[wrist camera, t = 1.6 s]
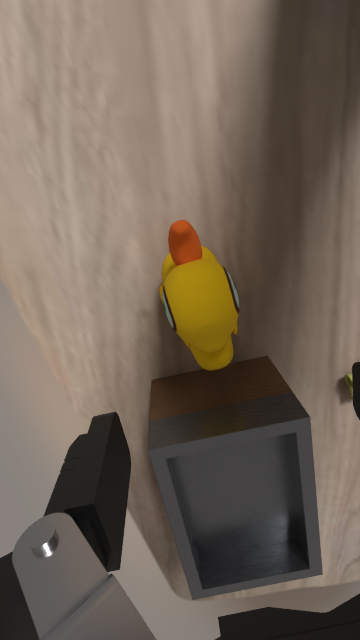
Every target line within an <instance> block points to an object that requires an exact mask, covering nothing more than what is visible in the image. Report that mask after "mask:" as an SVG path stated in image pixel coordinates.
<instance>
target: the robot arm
mask: <svg viewBox="0 0 360 640" xmlns="http://www.w3.org/2000/svg"><path fill="white" fill-rule="evenodd" d="M352 387H353V406H354V410H355V412H356V414H357V416H358V418H359V420H360V362H356V363H354V364H353V367H352ZM64 461H65V463H63V466H62V468H61V471H60V474H59V477H58V479H57V482H56V484H55V487H54V490H53V492H52V495H51V498H50V500H49V503H48V506H47V508H46V512H45V514H44V516H43V518H40V519H39V520H37V521H36V522H34V523H33V524H32V525H31V526H30V527H28V528H27V530H25V532H24V533H23V534H22V535H21V537H20V538H19V540H18V541H17V543H16V545H15V548H14V550H13V552H11V553H9V554H7V555H5V556H3V557H1V558H0V640H156V638H155V637H154V635H153V634H152V632H151V631H150V629H149V628H148V626H147V624H146V623H145V622H144V620H143V618H142V617H141V615H140V614H139V612H138V611H137V609H136V608H135V606H134V605H133V603H132V602H131V600H130V599H129V597H128V596H127V594H126V593H125V591H124V590H123V588H122V587H121V585H120V584H119V582H118V581H117V579H115V577H114V576H113V575H112V574H110V575H109V574H108V573H107V572H110V571H115V570H119V569H120V563H121V554H122V545H123V536H124V526H125V517H126V508H127V499H128V490H129V481H130V471H131V457H130V451H129V447H128V444H127V441H126V438H125V435H124V431H123V428H122V425H121V422H120V419H119V416H118V414H117V413H116V412H112V413H108V414H103V415H98V416H94V417H93V418H92V421H91V424H90V428H89V431H88V433H87V434H82V435H79V436H78V438H77V439H76V440H75V441H74V442H73V444H72V445H71V446H70V447H69V450H68V452H67V455H66V458H65V460H64ZM218 620H219V627H220V634H221V636H220V637H219V638H217V639H215V640H360V594H358V595H356V596H355V597H353V598H351V599H350V600H348V601H347V602H345V603H343V604H341V605H340V606H338V607H336V608H335V609H333V610H331V611H329V612H326V613H319V612H309V611H300V610H291V609H281V608H272V607H266V608H261V609H256V610H251V611H246V612H241V613H236V614H231V615H226V616H221V617H218Z"/></svg>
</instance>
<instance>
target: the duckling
mask: <svg viewBox="0 0 360 640" xmlns="http://www.w3.org/2000/svg"><path fill="white" fill-rule="evenodd" d="M168 243H169V249H170V253H169V254H168V255H167V257H166V258H165V260H164V263H163V266H162V281H163V284H161V286H160V288H159V293H160V297H161V300H162V303H163V305H164V309H165V312H166V315H167V318H168V320H169V323H170V324H171V326H172V328H173V329H174V331H175V332H176V333H177V334H178V335H179V336H180V337H181V338H182V340H183V341H184V343H185V344H186V345H187V346H188V347H189V348H190V350H191V351H192V353H193V355H194V357H195V359H196V361H197V363H198V364H199V365H200V366H201V367H202V368H203V369H206V370H211V371H212V370H218V369H221V368H224V367H226V366H227V365H229V363H230V362H231V361H232V358H233V345H232V338H231V333H233V334H234V335H237V332H238V325H237V320H238V315H239V299H238V294H237V290H236V287H235V284H234V282H233V280H232V278H231V276H230V274H229V273H228V272H227V270H226V269H225V268H224V267H223V266H222V265H220V264H219V263H218V261H217V259H216V257H215V256H214V255H213V253H212V252H211V251H210V250H209V249H207V248H206V247H204V246H202V245H201V244H200V241H199V238H198V235H197V233H196V232H195V230H194V228H193V227H192V226H191V225H190V223H189V222H187V221H185V220H180V221H177V222H175V223H173V224H172V225H171V227H170V231H169V237H168Z"/></svg>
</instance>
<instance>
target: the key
mask: <svg viewBox="0 0 360 640" xmlns="http://www.w3.org/2000/svg"><path fill="white" fill-rule="evenodd" d="M345 381H346V383H347V385H348V386H349V391H350V398H351V399H352V400H353V387H352V373H351V374H348V375H345Z"/></svg>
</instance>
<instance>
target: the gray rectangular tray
mask: <svg viewBox="0 0 360 640" xmlns="http://www.w3.org/2000/svg"><path fill="white" fill-rule="evenodd" d="M148 453H149V456H150V459H151V463H152V466H153V469H154V473H155V476H156V479H157V483H158V486H159V489H160V493H161V496H162V499H163V502H164V506H165V509H166V512H167V516H168V519H169V522H170V526H171V529H172V532H173V536H174V539H175V542H176V546H177V549H178V552H179V556H180V559H181V562H182V566H183V569H184V572H185V575H186V579H187V582H188V585H189V589H190V592H191V595H192V599H193V600H194V599H199V598H204V597H209V596H214V595H220V594H225V593H230V592H235V591H240V590H245V589H250V588H256V587H261V586H266V585H271V584H276V583H281V582H286V581H291V580H297V579H302V578H307V577H312V576H317V575H322V574H323V573H322V561H321V548H320V536H319V523H318V511H317V498H316V486H315V473H314V461H313V448H312V435H311V423H310V416H309V415H308V413H307V412H306V410H305V409H304V408H303V406H302V405H301V403H300V402H299V400H298V399H297V398H296V396H295V395H294V393H293V392H292V390H291V389H290V387H289V386H288V385H287V383H286V382H285V380H284V379H283V377H282V376H281V375H280V373H279V372H278V370H277V369H276V367H275V366H274V364H273V363H272V362H271V360H270V359H269V357H268V356H266V357H262V358H257V359H252V360H247V361H242V362H238V363H233V364H229V365H227V366H226V367H224V368H221V369H218V370H212V371H211V370H206V369H204V370H199V371H194V372H190V373H185V374H180V375H175V376H171V377H166V378H161V379H156V380H152V384H151V402H150V419H149V437H148Z"/></svg>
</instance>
